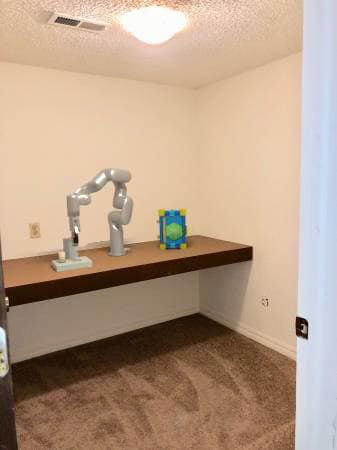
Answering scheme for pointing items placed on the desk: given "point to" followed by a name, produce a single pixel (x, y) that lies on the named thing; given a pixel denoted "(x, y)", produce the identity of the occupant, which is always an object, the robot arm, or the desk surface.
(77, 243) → the peg
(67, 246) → the skincare box
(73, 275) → the desk surface
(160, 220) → the decorative book
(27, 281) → the desk surface
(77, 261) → the board
